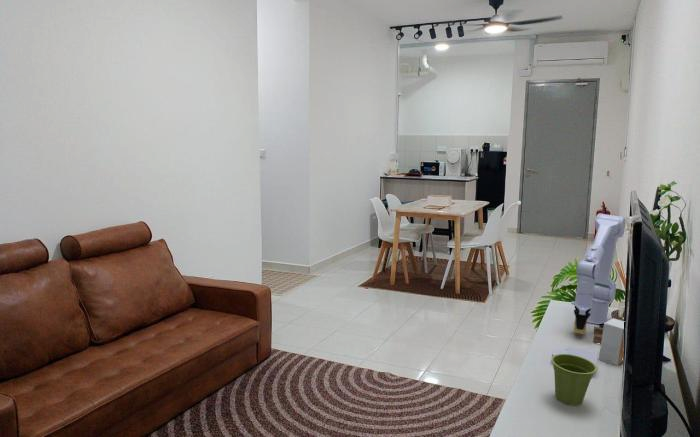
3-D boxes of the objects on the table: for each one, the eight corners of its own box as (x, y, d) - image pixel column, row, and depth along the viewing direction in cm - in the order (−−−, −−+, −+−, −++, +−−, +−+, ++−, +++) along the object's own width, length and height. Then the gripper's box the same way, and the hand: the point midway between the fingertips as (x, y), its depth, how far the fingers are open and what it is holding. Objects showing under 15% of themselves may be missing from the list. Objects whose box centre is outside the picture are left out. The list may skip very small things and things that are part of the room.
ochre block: (573, 328, 198) (576, 311, 197) (585, 330, 197) (587, 313, 195) (573, 332, 195) (575, 314, 193) (585, 334, 193) (587, 316, 192)
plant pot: (540, 399, 147) (545, 362, 145) (555, 385, 156) (560, 350, 154) (583, 416, 140) (589, 377, 138) (597, 400, 149) (602, 363, 147)
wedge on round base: (594, 365, 171) (552, 356, 176) (597, 346, 169) (554, 337, 175) (593, 377, 163) (550, 367, 168) (596, 357, 161) (552, 347, 167)
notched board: (593, 332, 199) (594, 326, 199) (615, 336, 196) (616, 330, 196) (593, 342, 189) (594, 336, 189) (616, 347, 186) (617, 340, 186)
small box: (617, 366, 171) (623, 329, 169) (598, 359, 176) (603, 323, 173) (626, 359, 177) (632, 323, 174) (607, 353, 181) (612, 317, 179)
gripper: (573, 285, 201) (569, 318, 203) (572, 296, 188) (567, 331, 190) (593, 288, 198) (589, 322, 200) (593, 299, 185) (588, 335, 188)
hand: (580, 327), depth 195 cm, fingers closed on ochre block, 4 cm apart
